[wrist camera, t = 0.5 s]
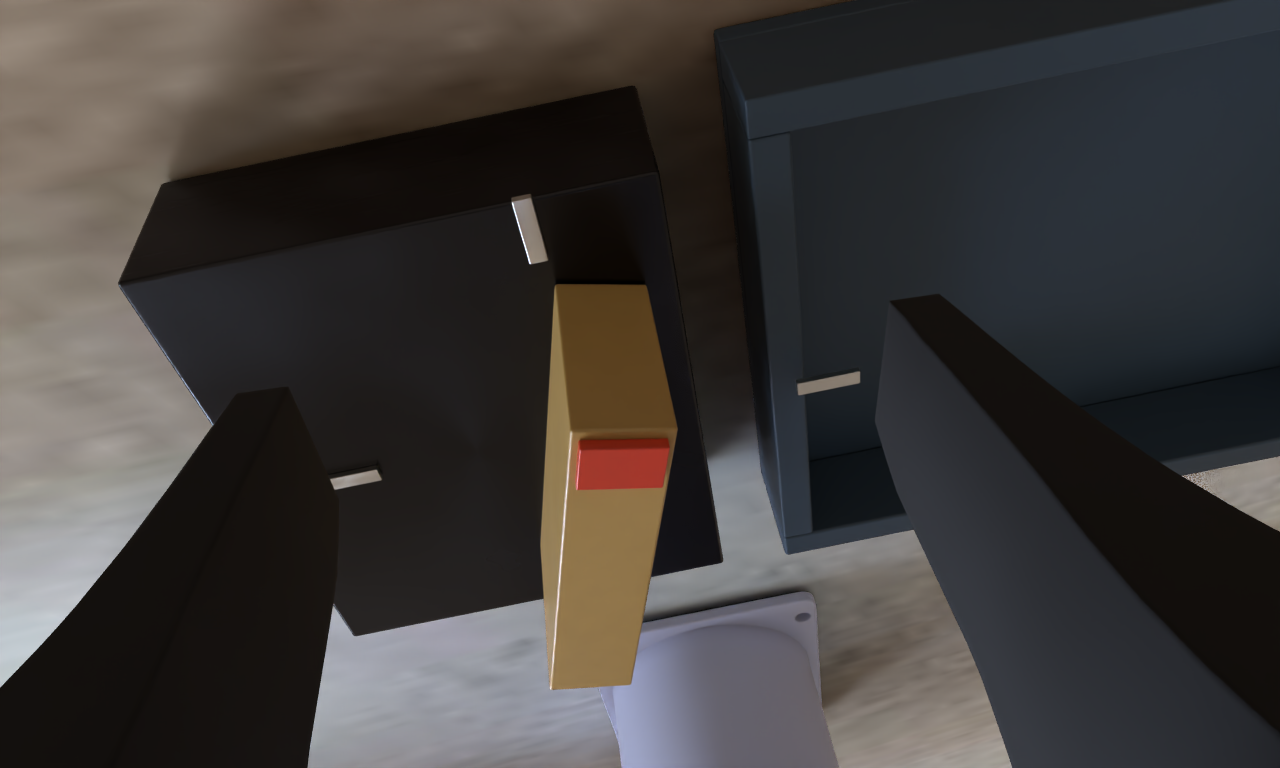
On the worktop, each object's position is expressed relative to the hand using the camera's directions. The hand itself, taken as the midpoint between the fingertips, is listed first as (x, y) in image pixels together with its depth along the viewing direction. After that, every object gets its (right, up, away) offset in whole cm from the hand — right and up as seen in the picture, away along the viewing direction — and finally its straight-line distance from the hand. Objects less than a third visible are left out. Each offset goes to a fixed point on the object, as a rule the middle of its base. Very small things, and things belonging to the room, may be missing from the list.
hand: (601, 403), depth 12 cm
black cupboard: (-2, +1, +12) cm, 12 cm away
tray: (+11, +4, +12) cm, 17 cm away
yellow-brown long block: (-1, -1, +10) cm, 10 cm away
